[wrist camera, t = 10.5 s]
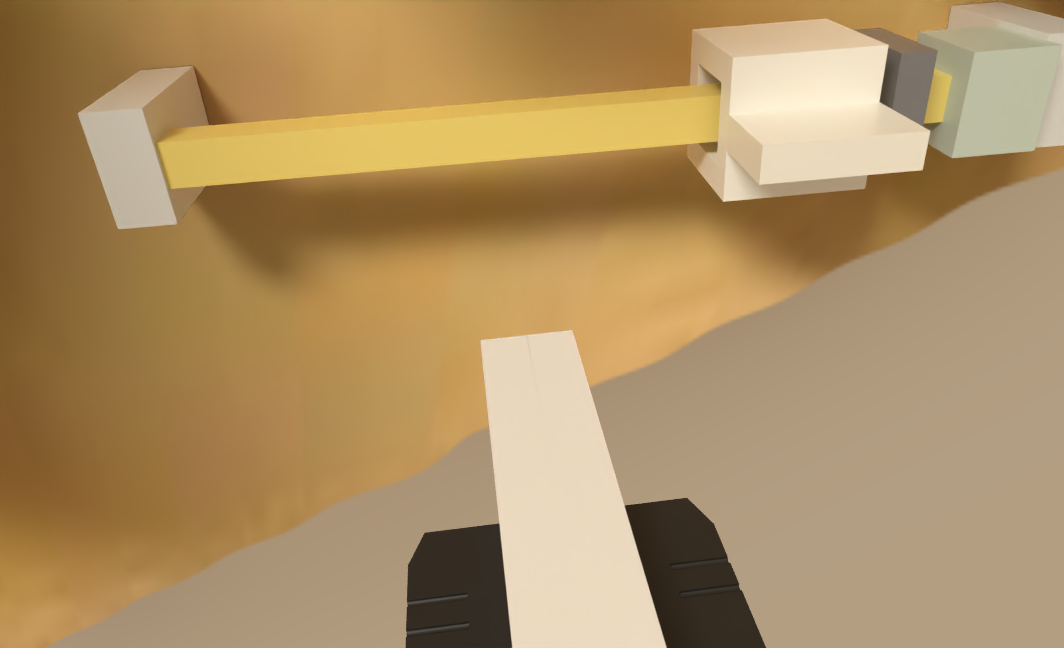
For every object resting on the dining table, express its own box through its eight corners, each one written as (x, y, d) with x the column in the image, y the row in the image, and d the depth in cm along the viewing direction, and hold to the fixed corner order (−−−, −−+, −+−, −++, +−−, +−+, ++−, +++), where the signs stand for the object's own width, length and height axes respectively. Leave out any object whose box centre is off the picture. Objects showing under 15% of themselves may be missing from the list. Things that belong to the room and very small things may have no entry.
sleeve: (687, 156, 31) (754, 240, 25) (692, 29, 29) (768, 82, 22) (810, 145, 32) (911, 225, 25) (826, 18, 29) (943, 67, 22)
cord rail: (170, 170, 32) (107, 241, 26) (140, 70, 30) (64, 122, 24) (977, 101, 34) (1090, 153, 28) (999, 1, 32) (1127, 34, 26)
